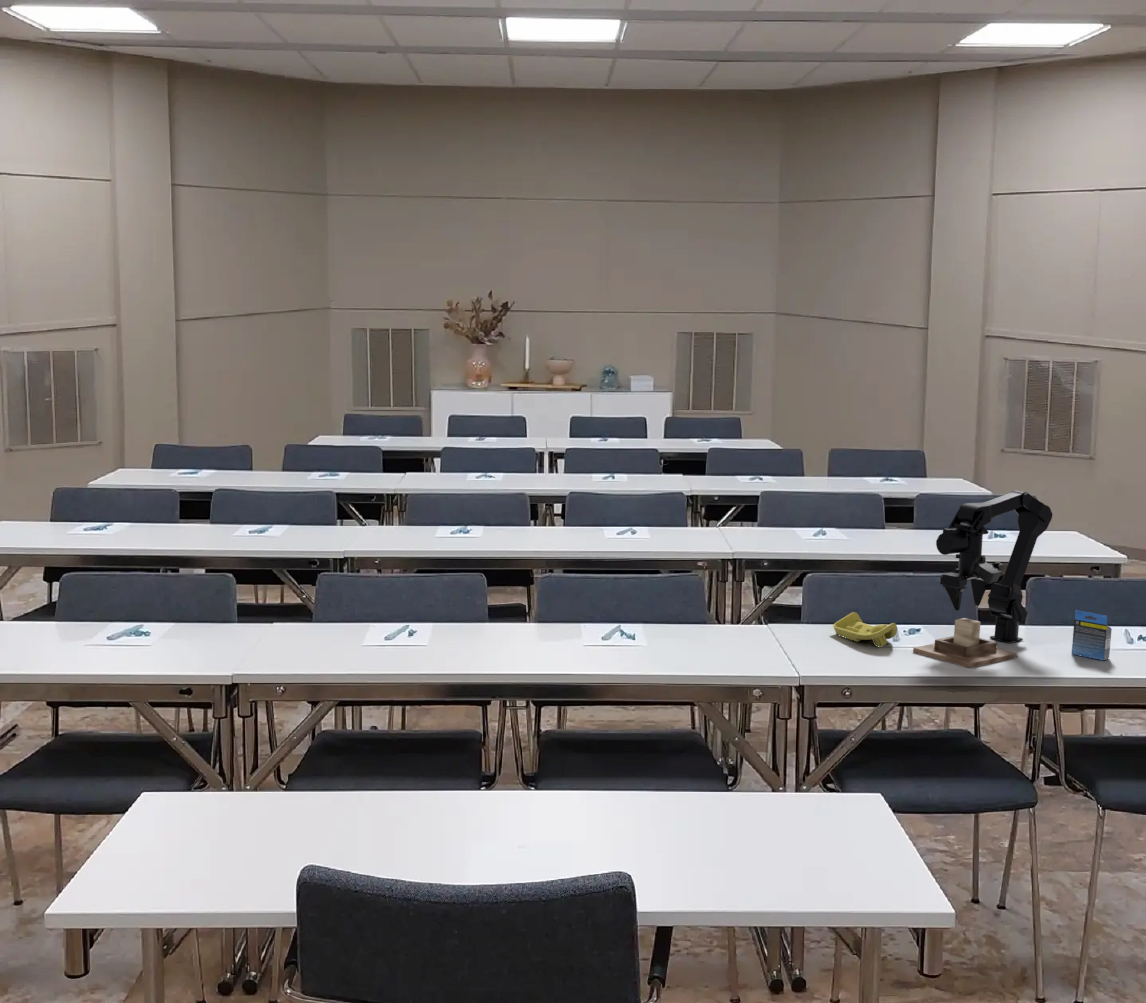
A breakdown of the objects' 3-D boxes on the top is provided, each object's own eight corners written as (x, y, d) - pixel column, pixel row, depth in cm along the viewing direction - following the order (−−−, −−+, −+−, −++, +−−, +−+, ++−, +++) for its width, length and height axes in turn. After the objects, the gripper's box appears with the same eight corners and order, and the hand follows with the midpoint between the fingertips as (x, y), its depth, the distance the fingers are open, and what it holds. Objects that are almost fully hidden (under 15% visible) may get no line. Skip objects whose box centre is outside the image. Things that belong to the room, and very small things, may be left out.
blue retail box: (1109, 659, 339) (1114, 613, 337) (1103, 661, 336) (1108, 615, 335) (1076, 652, 345) (1080, 607, 344) (1070, 654, 343) (1074, 609, 341)
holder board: (959, 642, 352) (960, 629, 352) (1017, 657, 338) (1018, 643, 338) (913, 652, 340) (914, 638, 340) (970, 668, 326) (971, 653, 326)
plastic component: (829, 626, 357) (857, 608, 360) (839, 648, 359) (867, 631, 362) (869, 638, 339) (898, 619, 342) (879, 662, 340) (908, 643, 343)
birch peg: (962, 647, 342) (964, 617, 341) (978, 651, 338) (980, 621, 337) (953, 649, 340) (955, 619, 339) (968, 653, 336) (971, 623, 335)
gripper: (976, 560, 332) (972, 619, 335) (1017, 551, 344) (1013, 608, 346) (939, 553, 341) (936, 610, 343) (980, 545, 352) (977, 600, 355)
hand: (967, 607), depth 347 cm, fingers open, 9 cm apart
